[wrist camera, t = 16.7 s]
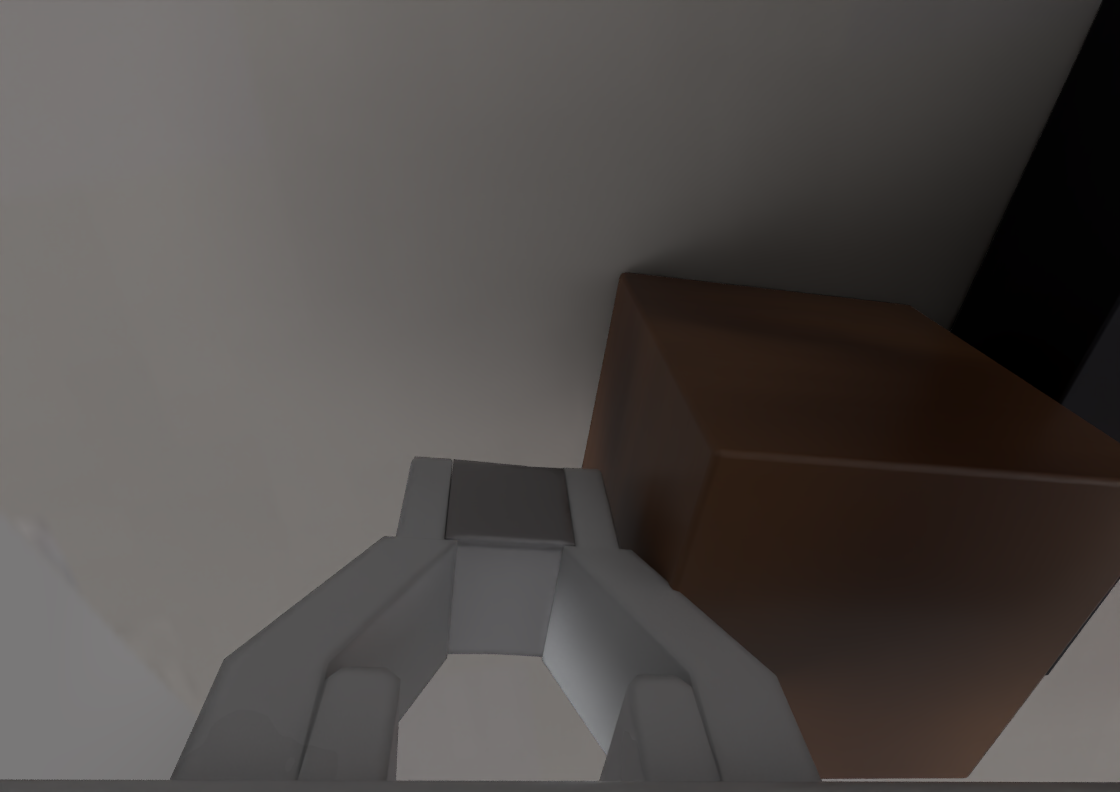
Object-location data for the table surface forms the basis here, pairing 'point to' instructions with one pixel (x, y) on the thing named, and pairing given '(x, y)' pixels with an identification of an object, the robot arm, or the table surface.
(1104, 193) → the straightedge
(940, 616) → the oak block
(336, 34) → the table surface
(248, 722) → the robot arm
